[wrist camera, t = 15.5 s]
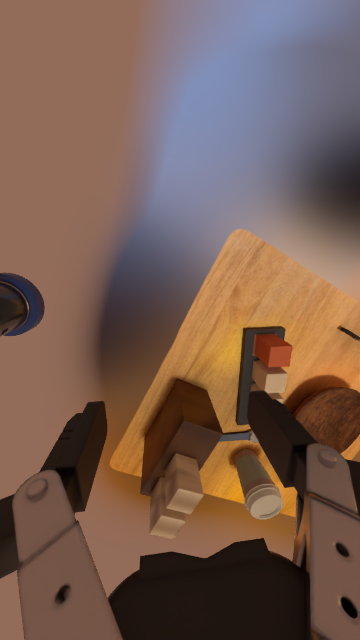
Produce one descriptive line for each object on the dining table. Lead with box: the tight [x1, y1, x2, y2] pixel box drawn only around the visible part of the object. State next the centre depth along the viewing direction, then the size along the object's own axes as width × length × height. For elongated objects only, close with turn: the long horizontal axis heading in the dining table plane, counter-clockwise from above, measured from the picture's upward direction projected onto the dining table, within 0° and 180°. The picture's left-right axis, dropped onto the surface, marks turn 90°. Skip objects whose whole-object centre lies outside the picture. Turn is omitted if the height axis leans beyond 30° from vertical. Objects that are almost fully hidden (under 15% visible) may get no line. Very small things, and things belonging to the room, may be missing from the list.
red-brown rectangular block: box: [255, 335, 292, 368], centre depth 42 cm, size 4×4×6 cm
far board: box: [236, 327, 288, 425], centre depth 45 cm, size 9×25×8 cm, turn 0°
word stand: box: [140, 379, 223, 539], centre depth 40 cm, size 18×8×19 cm, turn 153°
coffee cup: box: [235, 449, 283, 519], centre depth 50 cm, size 8×9×12 cm
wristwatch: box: [219, 430, 259, 443], centre depth 53 cm, size 4×20×1 cm, turn 90°
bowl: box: [293, 387, 360, 454], centre depth 52 cm, size 20×22×5 cm
